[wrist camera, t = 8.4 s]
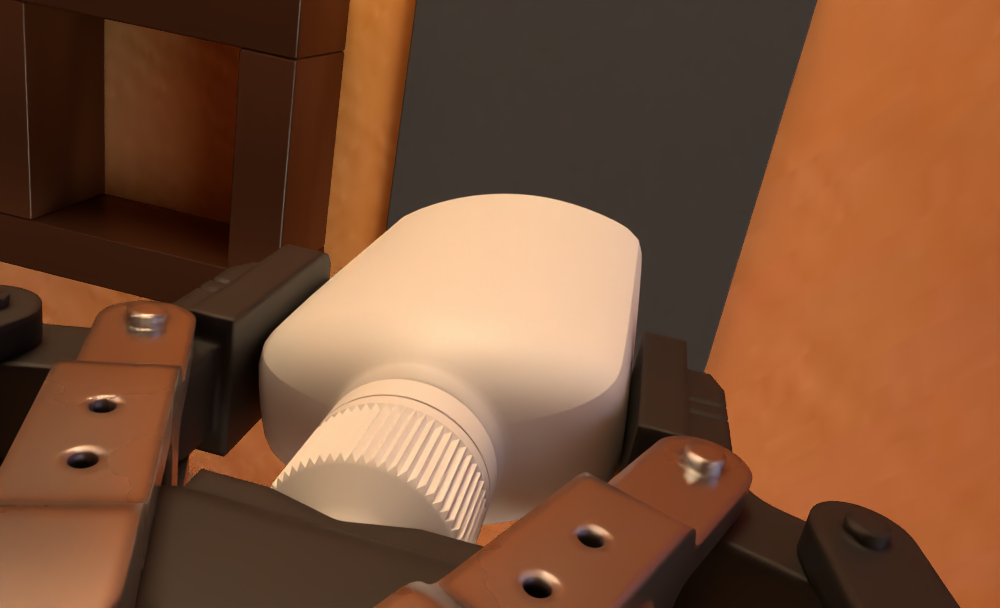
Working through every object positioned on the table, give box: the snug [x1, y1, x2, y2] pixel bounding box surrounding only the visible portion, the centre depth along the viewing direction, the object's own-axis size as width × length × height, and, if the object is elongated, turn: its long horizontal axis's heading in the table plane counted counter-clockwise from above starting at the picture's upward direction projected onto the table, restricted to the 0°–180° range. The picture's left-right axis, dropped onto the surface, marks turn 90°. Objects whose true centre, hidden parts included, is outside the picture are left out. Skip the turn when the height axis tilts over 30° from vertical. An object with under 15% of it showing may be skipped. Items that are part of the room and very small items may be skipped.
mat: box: [386, 0, 817, 376], centre depth 28 cm, size 15×12×1 cm
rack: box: [0, 0, 350, 304], centre depth 29 cm, size 11×19×4 cm, turn 79°
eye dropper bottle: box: [258, 194, 642, 544], centre depth 14 cm, size 4×6×12 cm
